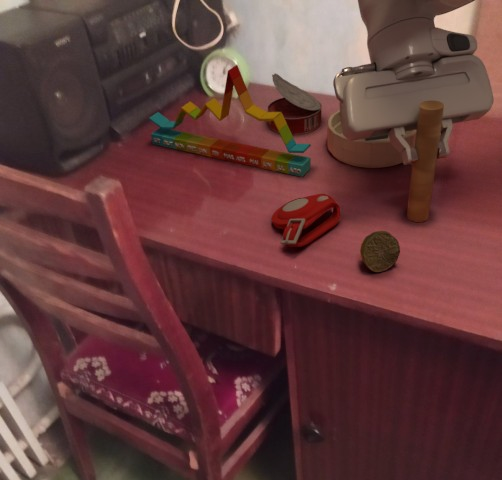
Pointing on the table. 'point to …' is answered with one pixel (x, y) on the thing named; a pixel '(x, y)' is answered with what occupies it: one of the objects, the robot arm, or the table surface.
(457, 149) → the table surface
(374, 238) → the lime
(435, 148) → the stick
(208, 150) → the chart
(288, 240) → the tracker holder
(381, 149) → the bowl
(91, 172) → the table surface
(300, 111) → the canned food
